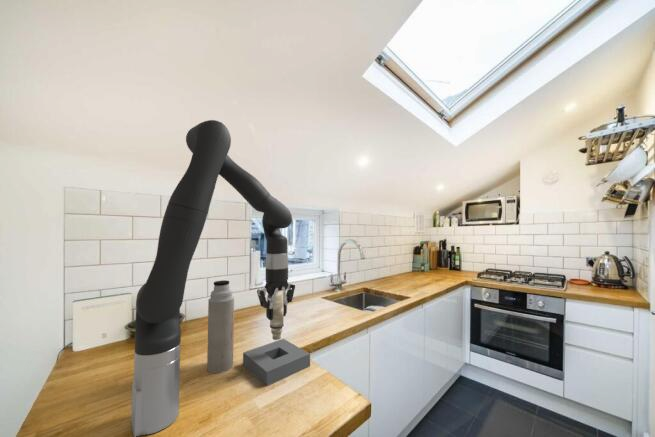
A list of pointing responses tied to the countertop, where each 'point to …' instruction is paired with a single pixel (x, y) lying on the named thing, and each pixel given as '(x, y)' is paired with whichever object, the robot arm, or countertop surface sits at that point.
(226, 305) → the thermos bottle
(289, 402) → the countertop surface
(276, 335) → the ash peg
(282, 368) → the gray board
